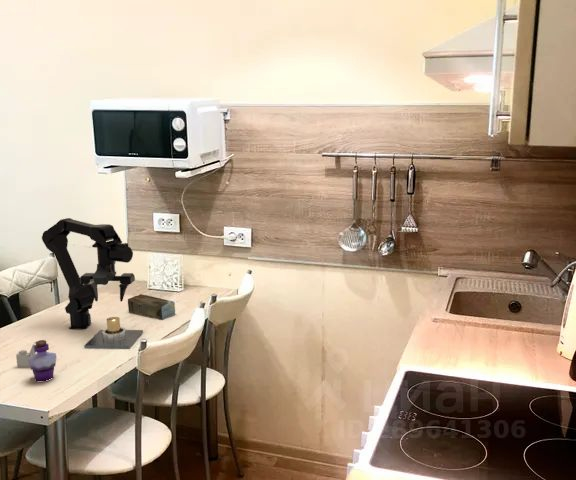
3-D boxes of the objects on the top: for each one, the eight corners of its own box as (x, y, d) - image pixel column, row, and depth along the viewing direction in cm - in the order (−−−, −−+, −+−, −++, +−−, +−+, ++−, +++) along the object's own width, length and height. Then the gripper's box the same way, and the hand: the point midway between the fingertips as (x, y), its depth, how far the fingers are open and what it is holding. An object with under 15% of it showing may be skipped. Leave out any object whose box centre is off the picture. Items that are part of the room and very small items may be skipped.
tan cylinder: (106, 339, 222) (104, 320, 220) (110, 335, 226) (109, 316, 225) (118, 339, 222) (117, 320, 220) (122, 335, 226) (121, 316, 224)
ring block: (84, 348, 217) (83, 338, 216) (100, 332, 232) (100, 323, 232) (129, 348, 216) (129, 339, 215) (143, 332, 231) (142, 323, 231)
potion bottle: (35, 372, 197) (31, 336, 194) (63, 372, 197) (59, 336, 194) (24, 384, 188) (20, 346, 186) (53, 384, 188) (50, 346, 186)
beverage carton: (162, 321, 245) (161, 304, 243) (127, 313, 255) (126, 297, 254) (176, 315, 251) (175, 299, 250) (141, 308, 262) (140, 292, 260)
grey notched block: (17, 367, 201) (14, 343, 199) (19, 365, 203) (17, 341, 201) (39, 367, 201) (36, 343, 199) (41, 365, 203) (39, 341, 201)
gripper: (72, 265, 219) (75, 307, 222) (124, 265, 218) (127, 308, 221) (84, 257, 230) (87, 298, 233) (134, 257, 229) (136, 298, 232)
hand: (109, 301), depth 230 cm, fingers open, 9 cm apart
